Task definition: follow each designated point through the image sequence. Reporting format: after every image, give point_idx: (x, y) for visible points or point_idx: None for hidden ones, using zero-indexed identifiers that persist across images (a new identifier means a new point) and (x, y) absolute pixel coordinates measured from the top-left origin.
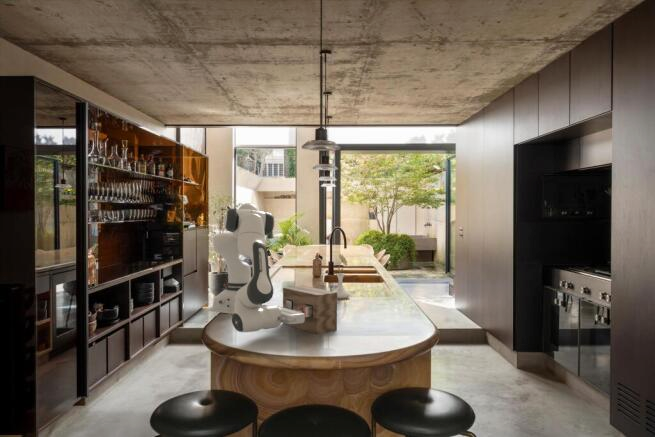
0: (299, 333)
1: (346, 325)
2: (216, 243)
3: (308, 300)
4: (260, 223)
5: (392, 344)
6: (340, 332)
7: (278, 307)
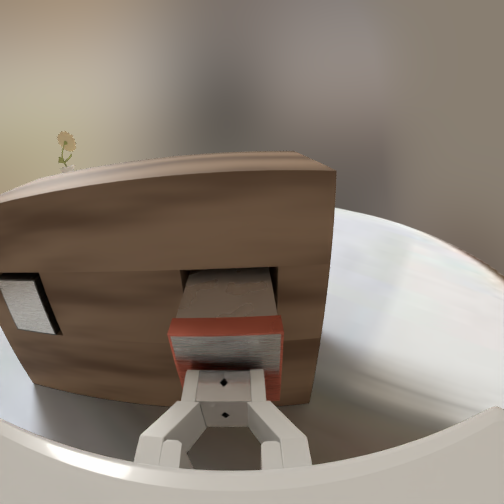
0: (233, 462)
1: None
2: None
3: (214, 236)
4: None
5: (481, 282)
6: (327, 321)
7: (15, 477)
